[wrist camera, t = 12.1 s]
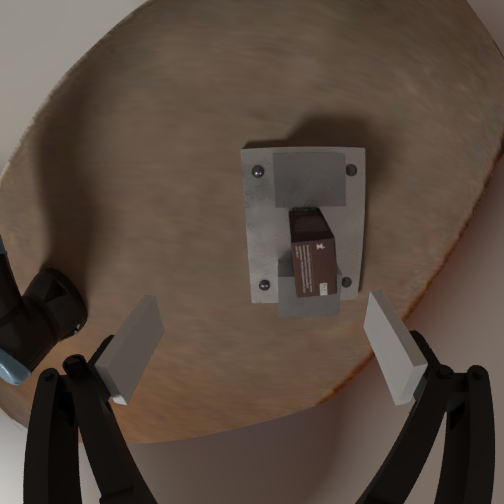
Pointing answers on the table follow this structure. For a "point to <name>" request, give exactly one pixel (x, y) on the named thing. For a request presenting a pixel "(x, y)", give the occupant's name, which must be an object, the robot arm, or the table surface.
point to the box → (312, 253)
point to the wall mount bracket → (298, 198)
